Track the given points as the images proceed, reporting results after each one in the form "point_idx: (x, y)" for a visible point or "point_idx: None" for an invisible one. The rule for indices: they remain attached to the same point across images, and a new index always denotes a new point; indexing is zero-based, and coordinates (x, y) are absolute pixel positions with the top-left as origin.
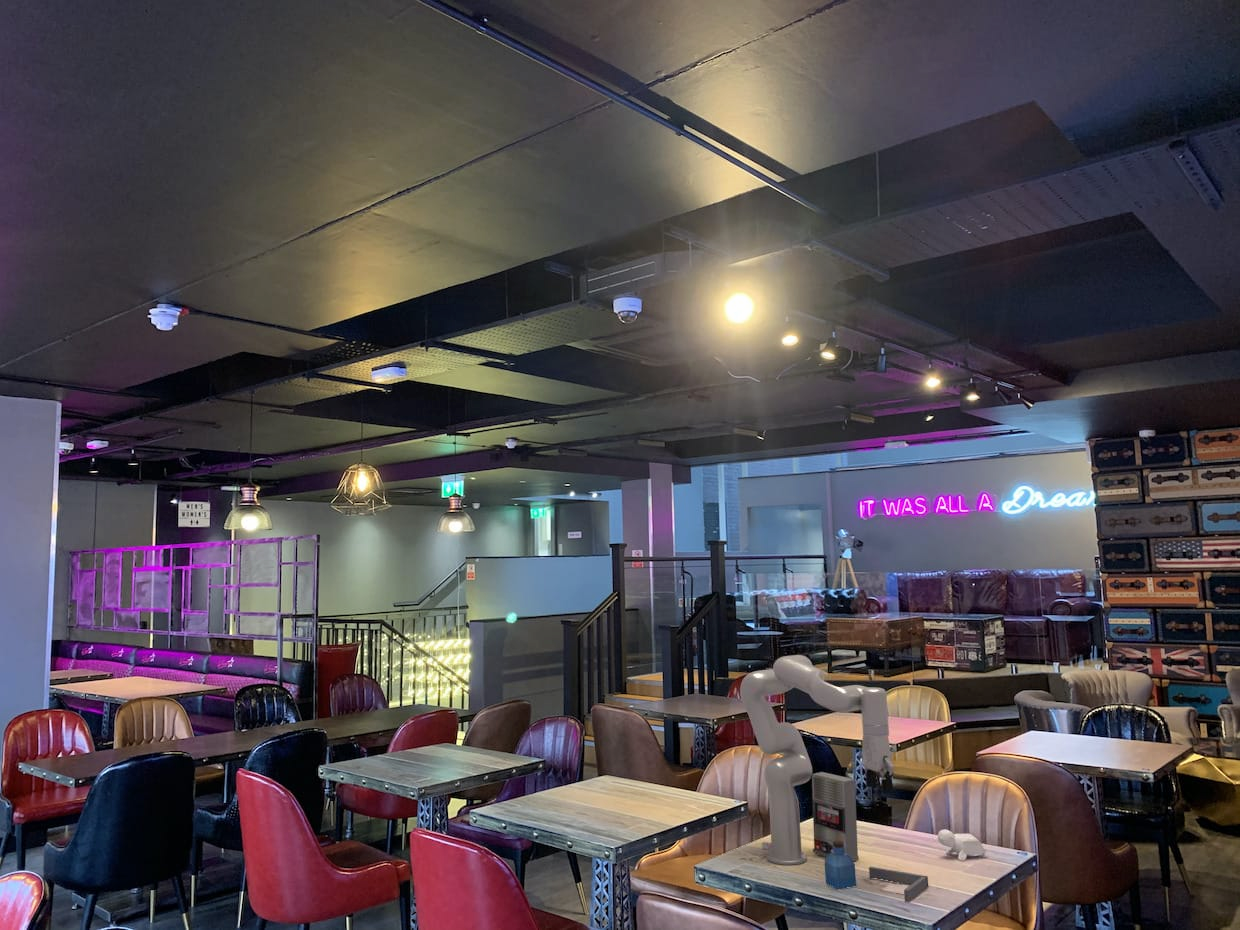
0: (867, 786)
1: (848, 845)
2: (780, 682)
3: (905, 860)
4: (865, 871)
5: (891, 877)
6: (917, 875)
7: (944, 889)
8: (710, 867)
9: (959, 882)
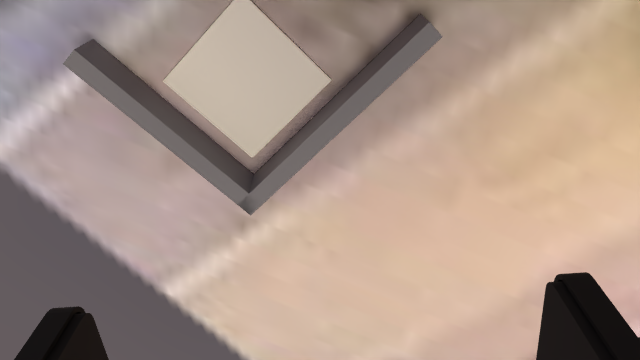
0: (563, 274)
1: None
2: None
3: (586, 245)
4: (519, 34)
5: (345, 93)
6: (266, 183)
7: (224, 235)
8: None
9: (290, 306)
